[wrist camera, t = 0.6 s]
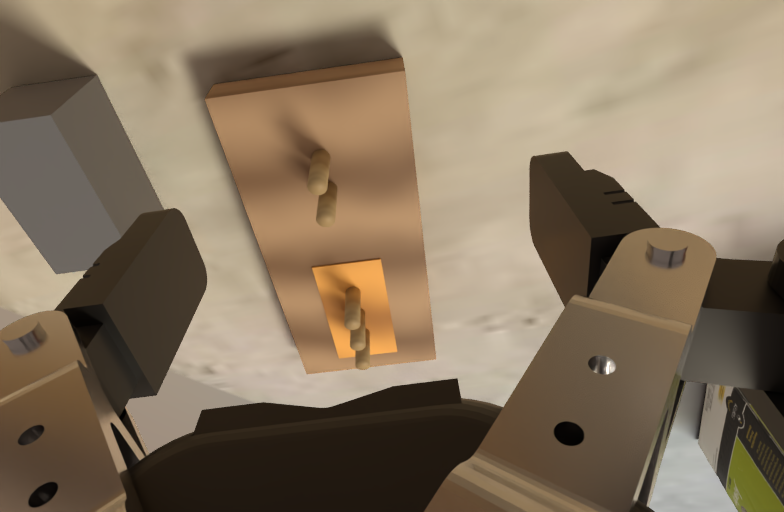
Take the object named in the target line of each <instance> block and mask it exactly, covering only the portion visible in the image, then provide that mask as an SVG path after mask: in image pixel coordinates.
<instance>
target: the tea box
mask: <svg viewBox="0 0 784 512" xmlns="http://www.w3.org/2000/svg"><path fill="white" fill-rule="evenodd" d="M698 444H699V446H700V448H701V449H702V451H703V453H704V454H705V456H706V458H707V460H708V462H709V463H710V465H711V467H712V468H713V470H714V471H715V473H716V475H717V476H718V477H719V479H720V481H721V483H722V485H723V486H724V488H725V490H726V492H727V494H728V495H729V497H730V499H731V500H732V502H733V503H734V505H735V507H736V509H737V511H738V512H784V451H783V450H782V448H781V447H780V445H779V444H778V443H777V441H776V440H775V438H774V437H773V435H772V434H771V433H770V431H769V430H768V428H767V427H766V425H765V424H764V423H763V421H762V420H761V418H760V417H759V415H758V414H757V413H756V411H755V410H754V408H753V407H752V405H751V404H750V403H749V401H748V400H747V398H746V397H745V395H744V394H743V393H742V391H741V390H740V388H739V387H731V386H723V385H715V384H707V389H706V396H705V402H704V408H703V414H702V421H701V427H700V434H699V440H698Z"/></svg>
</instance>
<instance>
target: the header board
mask: <svg viewBox="0 0 784 512" xmlns="http://www.w3.org/2000/svg"><path fill="white" fill-rule="evenodd" d="M205 102H206V104H207V107H208V110H209V113H210V115H211V118H212V121H213V123H214V126H215V129H216V131H217V134H218V137H219V139H220V142H221V145H222V147H223V150H224V153H225V156H226V158H227V161H228V164H229V166H230V169H231V172H232V174H233V177H234V180H235V182H236V185H237V188H238V190H239V193H240V196H241V199H242V201H243V204H244V207H245V209H246V212H247V215H248V217H249V220H250V223H251V225H252V228H253V231H254V233H255V236H256V239H257V242H258V244H259V247H260V250H261V252H262V255H263V258H264V260H265V263H266V266H267V268H268V271H269V274H270V276H271V279H272V282H273V285H274V287H275V290H276V293H277V295H278V298H279V301H280V303H281V306H282V309H283V311H284V314H285V317H286V319H287V322H288V325H289V328H290V330H291V333H292V336H293V338H294V341H295V344H296V346H297V349H298V352H299V354H300V357H301V360H302V362H303V365H304V368H305V371H306V373H307V374H313V373H322V372H330V371H339V370H348V369H356V368H357V369H360V370H365V369H368V368H369V367H374V366H382V365H391V364H400V363H408V362H417V361H425V360H434V359H436V353H435V343H434V334H433V325H432V316H431V307H430V297H429V288H428V279H427V270H426V260H425V251H424V242H423V233H422V224H421V214H420V205H419V196H418V187H417V177H416V168H415V159H414V150H413V140H412V131H411V122H410V113H409V104H408V94H407V85H406V76H405V68H404V63H403V58H395V59H388V60H381V61H374V62H367V63H360V64H353V65H346V66H339V67H332V68H325V69H318V70H311V71H304V72H297V73H290V74H283V75H276V76H269V77H262V78H255V79H248V80H241V81H234V82H227V83H220V84H214V85H213V86H212V88H211V90H210V91H209V93H208V94H207V96H206V98H205Z"/></svg>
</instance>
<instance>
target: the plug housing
mask: <svg viewBox="0 0 784 512" xmlns="http://www.w3.org/2000/svg"><path fill="white" fill-rule="evenodd" d="M0 198H1V199H2V201H3V202H4V203H5V205H6V206H7V208H8V209H9V210H10V212H11V213H12V214H13V216H14V217H15V219H16V220H17V221H18V223H19V224H20V225H21V227H22V228H23V230H24V231H25V232H26V234H27V235H28V236H29V238H30V239H31V240H32V242H33V243H34V245H35V246H36V247H37V249H38V250H39V251H40V253H41V254H42V256H43V257H44V258H45V260H46V261H47V262H48V264H49V265H50V267H51V268H52V269H53V271H54V272H55V273H56V274H61V273H69V272H77V271H84V270H88V269H89V268H90V267H93V263H94V262H95V261H96V260H97V258H98V257H99V256H100V255H101V254H102V252H103V251H104V250H105V249H107V248H108V247H109V246H111V245H112V244H114V243H115V242H117V241H118V240H119V239H121V237H122V236H123V235H124V234H125V232H126V231H127V230H128V229H129V227H130V226H131V225H132V224H133V223H134V221H135V220H136V219H137V218H138V216H139V215H140V214H142V213H146V212H153V211H159V210H164V209H163V207H162V205H161V203H160V201H159V199H158V197H157V195H156V193H155V191H154V189H153V187H152V185H151V183H150V181H149V179H148V177H147V175H146V173H145V171H144V169H143V167H142V165H141V163H140V161H139V159H138V157H137V155H136V153H135V151H134V149H133V147H132V145H131V142H130V140H129V138H128V136H127V134H126V132H125V130H124V128H123V126H122V124H121V122H120V120H119V118H118V116H117V114H116V112H115V110H114V108H113V106H112V104H111V102H110V100H109V98H108V96H107V94H106V92H105V90H104V88H103V86H102V84H101V82H100V80H99V78H98V76H97V75H93V76H86V77H79V78H73V79H66V80H59V81H52V82H45V83H38V84H31V85H24V86H17V87H11V88H10V89H8V90H7V91H5V92H4V93H3V94H1V95H0Z"/></svg>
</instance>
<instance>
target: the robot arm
mask: <svg viewBox="0 0 784 512" xmlns="http://www.w3.org/2000/svg"><path fill="white" fill-rule="evenodd" d="M529 219H530V231H531V236H532V240H533V243H534V246H535V248H536V250H537V252H538V254H539V256H540V258H541V260H542V262H543V264H544V266H545V268H546V270H547V272H548V274H549V276H550V278H551V280H552V282H553V284H554V286H555V288H556V290H557V292H558V294H559V296H560V298H561V300H562V302H563V304H564V306H565V309H564V310H563V312H562V313H561V315H560V317H559V318H558V320H557V322H556V323H555V325H554V326H553V328H552V330H551V331H550V333H549V334H548V336H547V338H546V339H545V341H544V343H543V344H542V346H541V347H540V349H539V351H538V352H537V354H536V355H535V357H534V359H533V360H532V362H531V364H530V365H529V367H528V368H527V370H526V372H525V373H524V375H523V377H522V378H521V380H520V381H519V383H518V385H517V386H516V388H515V389H514V391H513V393H512V394H511V396H510V398H509V399H508V401H507V402H506V404H505V406H504V407H501V406H497V405H494V404H491V403H487V402H482V401H477V400H472V399H463V398H461V396H460V390H459V385H458V379H449V380H441V381H433V382H425V383H417V384H409V385H400V386H393V387H390V388H387V389H384V390H381V391H378V392H375V393H372V394H369V395H366V396H363V397H360V398H357V399H354V400H351V401H348V402H345V403H342V404H339V405H336V406H333V407H329V408H315V407H305V406H294V405H284V404H274V403H264V402H263V403H255V404H247V405H239V406H230V407H222V408H215V409H206V410H202V411H201V414H200V417H199V420H198V422H197V425H196V428H195V431H194V432H192V433H189V434H187V435H184V436H182V437H180V438H178V439H175V440H173V441H171V442H169V443H167V444H165V445H164V446H162V447H160V448H158V449H157V450H155V451H153V452H152V453H150V454H149V452H148V450H147V448H146V446H145V443H144V441H143V439H142V437H141V434H140V432H139V430H138V428H137V426H136V423H135V421H134V419H133V417H132V416H131V414H130V412H129V411H128V409H127V408H126V404H127V402H128V400H129V399H131V398H139V397H147V396H154V395H157V393H158V391H159V389H160V387H161V384H162V383H163V380H164V378H165V376H166V373H167V372H168V370H169V367H170V365H171V363H172V361H173V359H174V357H175V355H176V352H177V350H178V348H179V346H180V344H181V342H182V340H183V337H184V335H185V333H186V331H187V329H188V327H189V325H190V322H191V320H192V318H193V316H194V314H195V312H196V310H197V307H198V305H199V303H200V301H201V299H202V297H203V295H204V292H205V290H206V286H207V273H206V268H205V265H204V262H203V260H202V258H201V255H200V253H199V251H198V248H197V246H196V244H195V241H194V239H193V236H192V234H191V232H190V229H189V227H188V225H187V222H186V220H185V218H184V216H183V214H182V213H181V212H180V211H179V210H178V209H175V208H173V209H166V210H159V211H153V212H146V213H142V214H140V215H139V216H138V218H137V219H136V220H135V221H134V223H133V224H132V225H131V226H130V227H129V229H128V230H127V231H126V232H125V234H124V235H123V236H122V237H121V239H119V240H118V241H117V242H115V243H114V244H112V245H111V246H109V247H108V248H107V249H105V250H104V251H103V252H102V254H101V255H100V256H99V257H98V258H97V260H96V261H95V262H94V263H93V267H90V268H89V269H88V270H87V271H86V273H85V274H84V275H83V279H80V280H79V281H78V282H77V283H76V285H75V286H74V287H73V288H72V289H71V291H70V292H69V293H68V294H67V295H66V297H65V298H64V299H63V300H62V301H61V303H60V304H59V305H58V306H57V307H56V309H55V310H53V311H44V312H39V313H35V314H32V315H29V316H26V317H24V318H22V319H19V320H17V321H15V322H13V323H11V324H10V325H8V326H6V327H5V328H3V329H2V330H0V512H654V511H653V510H652V509H650V508H649V504H650V501H651V497H652V494H653V490H654V486H655V483H656V479H657V475H658V472H659V468H660V464H661V461H662V458H663V454H664V451H665V448H666V445H667V441H668V438H669V435H670V432H671V429H672V425H673V422H674V419H675V416H676V412H677V409H678V406H679V403H680V399H681V396H682V393H683V390H684V386H685V383H686V381H691V382H699V383H707V384H715V385H723V386H731V387H739V388H740V390H741V391H742V393H743V394H744V395H745V397H746V398H747V400H748V401H749V403H750V404H751V405H752V407H753V408H754V410H755V411H756V413H757V414H758V415H759V417H760V418H761V420H762V421H763V423H764V424H765V425H766V427H767V428H768V430H769V431H770V433H771V434H772V435H773V437H774V438H775V440H776V441H777V443H778V444H779V445H780V447H781V448H782V450H783V451H784V240H782V241H781V242H780V243H779V244H778V246H777V249H776V252H775V255H774V259H773V262H772V261H753V260H733V259H721V258H716V256H717V255H716V251H715V250H714V248H713V247H712V245H711V244H710V243H708V242H707V241H706V240H704V239H703V238H701V237H699V236H697V235H694V234H692V233H689V232H686V231H682V230H677V229H670V228H660V227H659V226H658V225H657V224H656V222H655V221H654V220H653V219H652V218H651V217H650V216H649V215H648V214H647V213H646V212H645V211H644V210H643V209H642V208H641V207H640V206H639V205H638V203H637V202H634V199H633V198H632V197H631V196H630V195H629V194H628V193H627V192H624V189H623V188H622V187H621V186H620V184H619V183H618V182H617V181H616V180H615V179H614V178H612V177H610V176H608V175H606V174H603V173H601V172H599V171H597V170H594V169H593V170H586V171H584V170H583V169H582V167H581V166H580V165H579V164H578V163H577V162H576V160H575V159H574V158H573V157H572V156H571V155H570V153H569V152H567V151H565V152H559V153H552V154H545V155H538V156H533V157H532V158H531V161H530V209H529Z"/></svg>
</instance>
